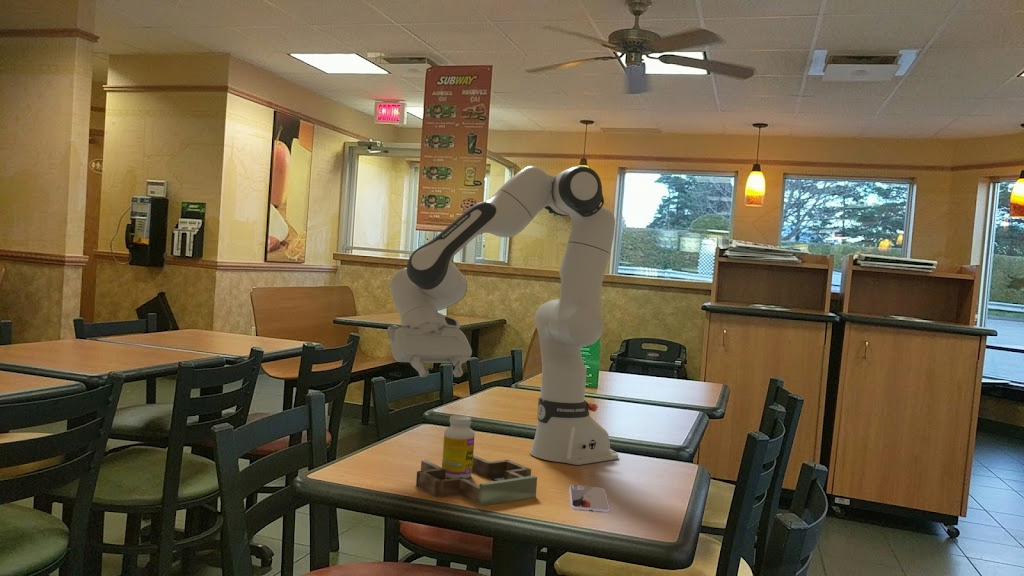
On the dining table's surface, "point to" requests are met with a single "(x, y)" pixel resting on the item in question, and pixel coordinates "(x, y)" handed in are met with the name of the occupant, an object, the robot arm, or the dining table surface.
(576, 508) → the mobile phone
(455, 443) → the supplement bottle
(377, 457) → the dining table surface
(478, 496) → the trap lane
